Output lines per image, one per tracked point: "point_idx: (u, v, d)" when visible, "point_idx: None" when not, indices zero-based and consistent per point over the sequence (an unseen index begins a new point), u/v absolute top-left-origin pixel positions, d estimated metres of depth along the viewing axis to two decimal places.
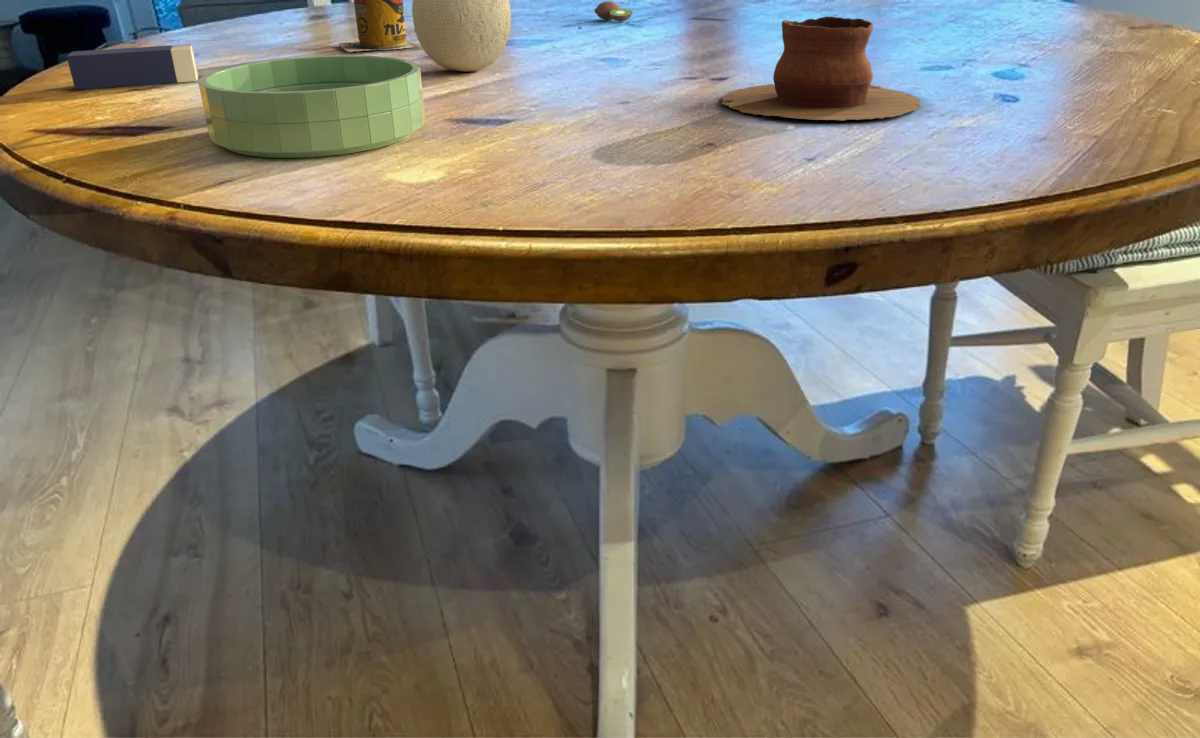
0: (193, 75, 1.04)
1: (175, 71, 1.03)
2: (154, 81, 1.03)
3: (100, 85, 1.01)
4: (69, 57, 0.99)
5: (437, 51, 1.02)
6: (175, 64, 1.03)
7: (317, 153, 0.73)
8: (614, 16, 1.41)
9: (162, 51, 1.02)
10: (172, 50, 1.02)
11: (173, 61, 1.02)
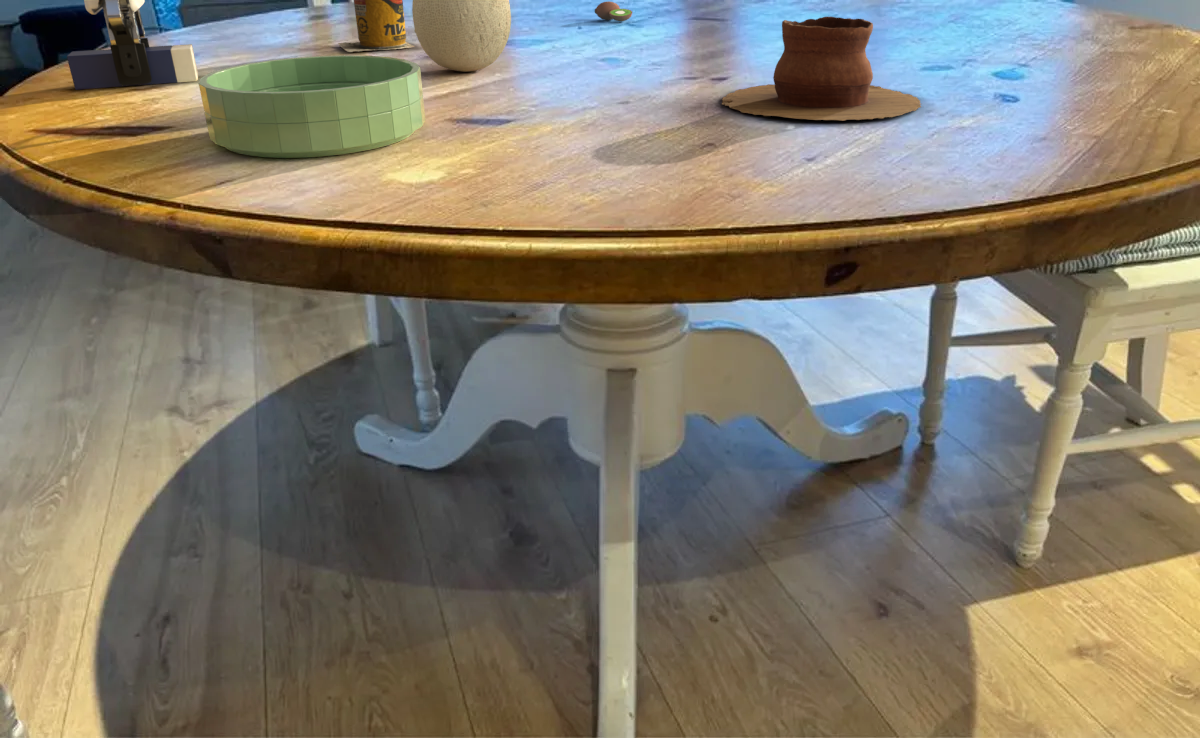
0: (193, 75, 1.04)
1: (175, 71, 1.03)
2: (154, 81, 1.03)
3: (100, 85, 1.01)
4: (69, 57, 0.99)
5: (437, 51, 1.02)
6: (175, 64, 1.03)
7: (317, 153, 0.73)
8: (614, 16, 1.41)
9: (162, 51, 1.02)
10: (172, 50, 1.02)
11: (173, 61, 1.02)
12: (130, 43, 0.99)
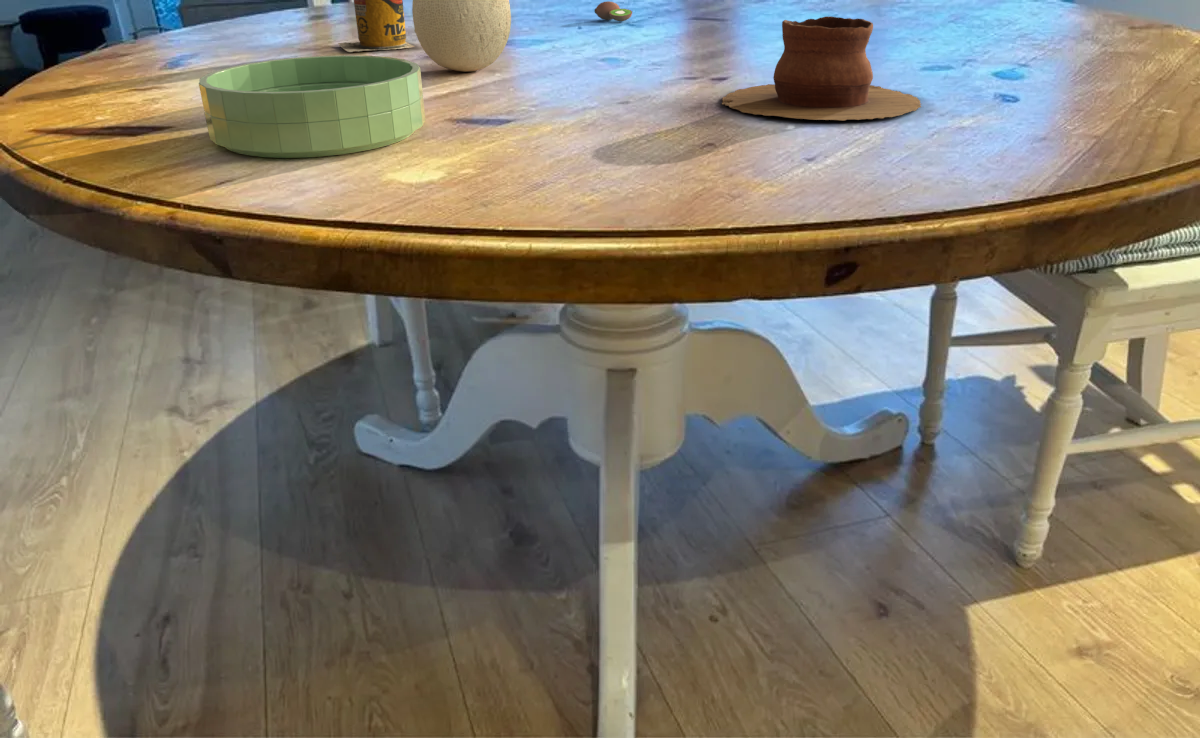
0: None
1: None
2: None
3: None
4: None
5: (437, 51, 1.02)
6: None
7: (317, 153, 0.73)
8: (614, 16, 1.40)
9: None
10: None
11: None
12: None
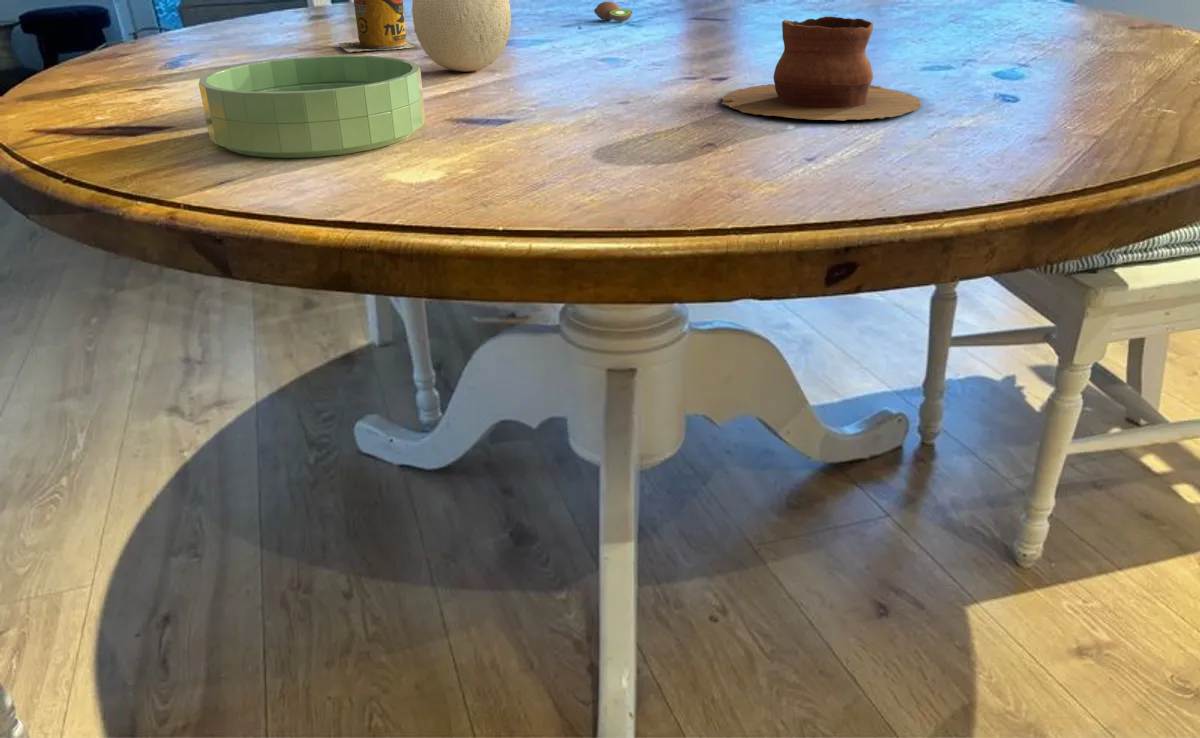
0: None
1: None
2: None
3: None
4: None
5: (437, 51, 1.02)
6: None
7: (317, 153, 0.73)
8: (614, 16, 1.40)
9: None
10: None
11: None
12: None
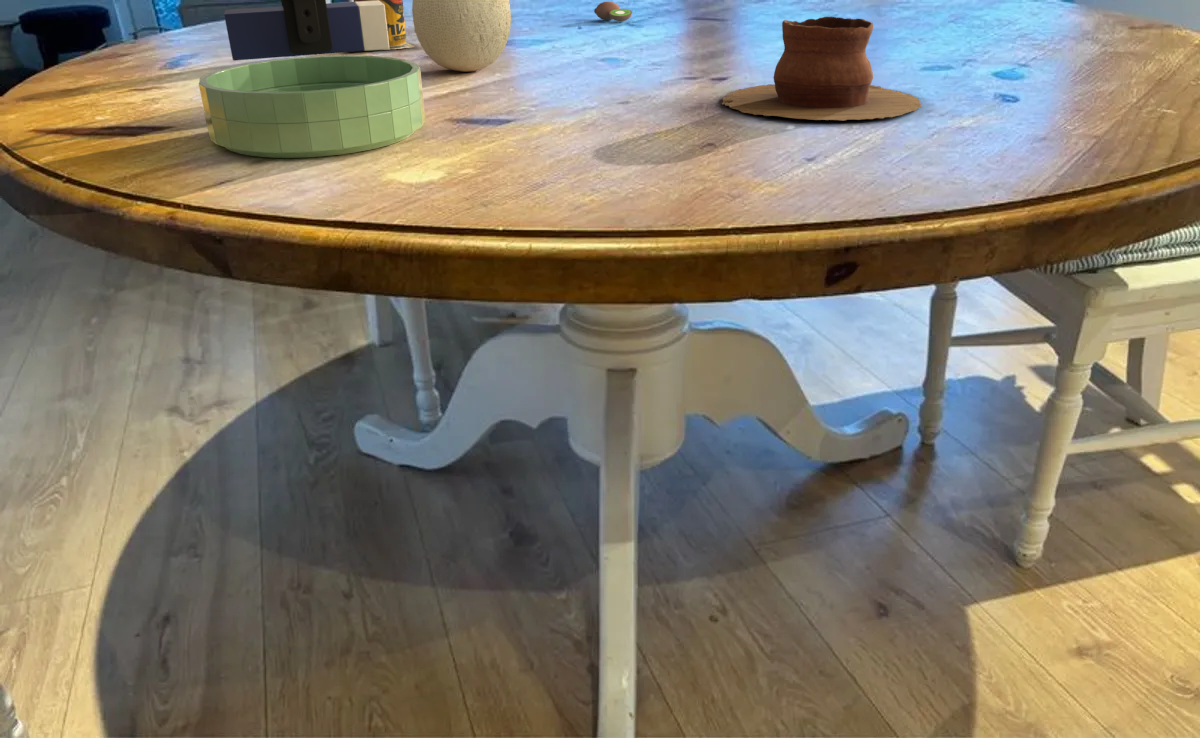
0: (386, 41, 0.77)
1: (363, 35, 0.76)
2: (335, 49, 0.76)
3: (265, 54, 0.75)
4: (227, 15, 0.73)
5: (437, 51, 1.02)
6: (363, 26, 0.76)
7: (317, 153, 0.73)
8: (614, 16, 1.40)
9: (348, 8, 0.75)
10: (361, 7, 0.76)
11: (361, 22, 0.76)
12: None
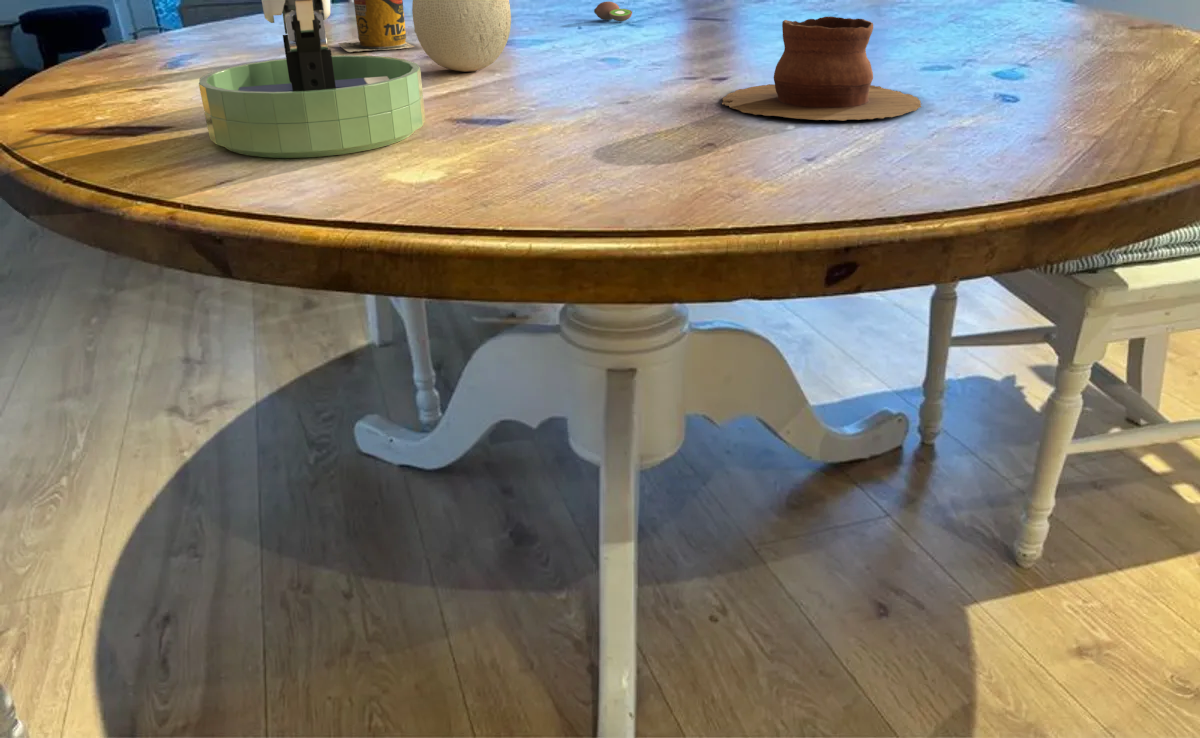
0: None
1: None
2: None
3: None
4: None
5: (437, 51, 1.02)
6: None
7: (317, 153, 0.73)
8: (614, 16, 1.40)
9: None
10: None
11: None
12: (315, 49, 0.72)
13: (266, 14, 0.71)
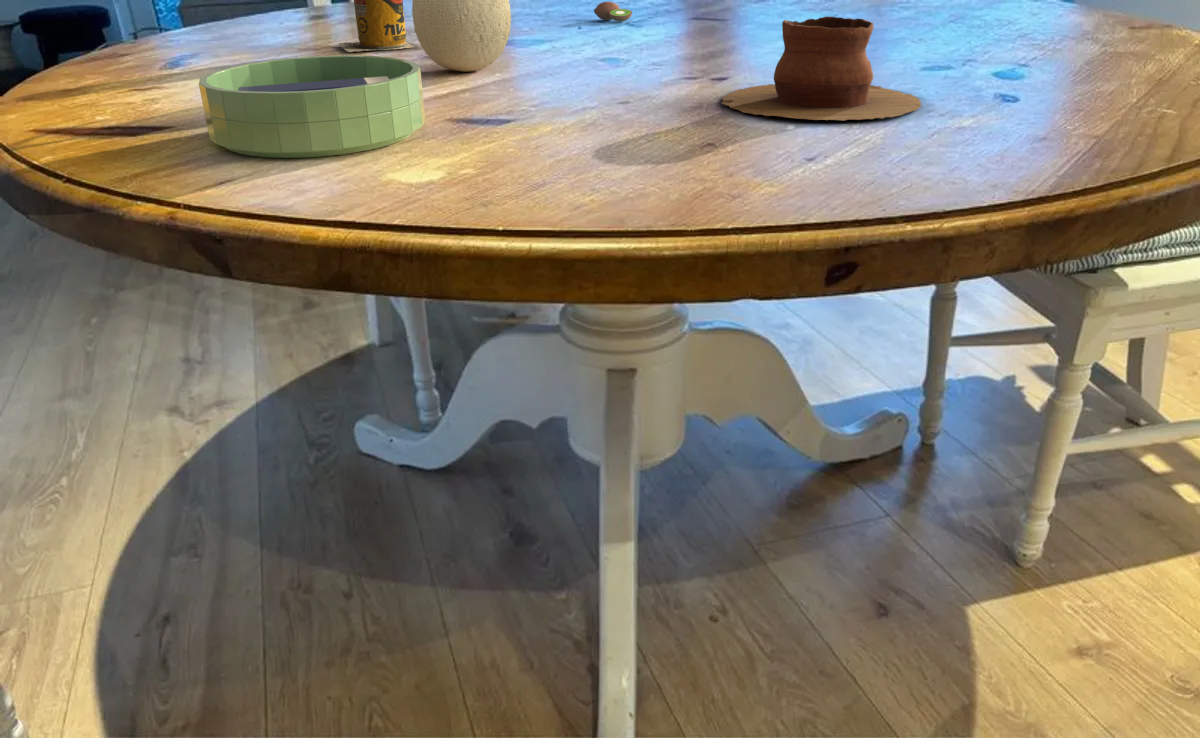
0: None
1: None
2: None
3: None
4: None
5: (437, 51, 1.02)
6: None
7: (317, 153, 0.73)
8: (614, 16, 1.40)
9: None
10: None
11: None
12: None
13: None
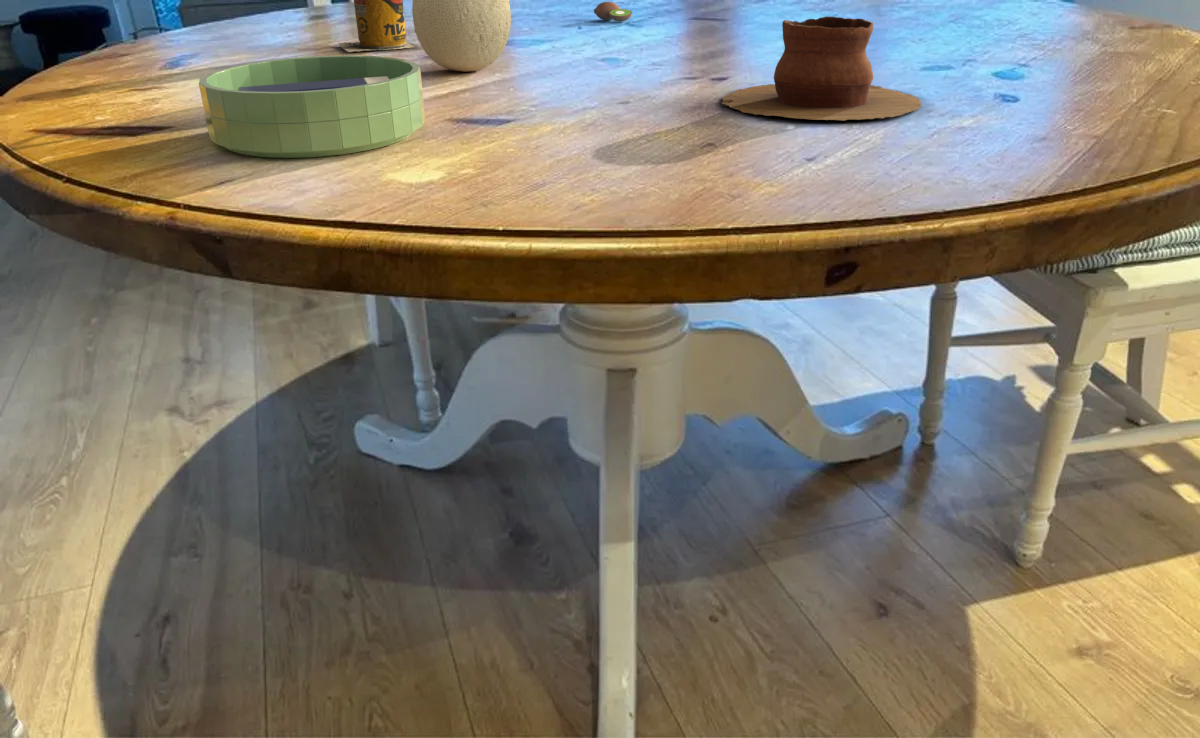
0: None
1: None
2: None
3: None
4: None
5: (437, 51, 1.02)
6: None
7: (317, 153, 0.73)
8: (614, 16, 1.40)
9: None
10: None
11: None
12: None
13: None
